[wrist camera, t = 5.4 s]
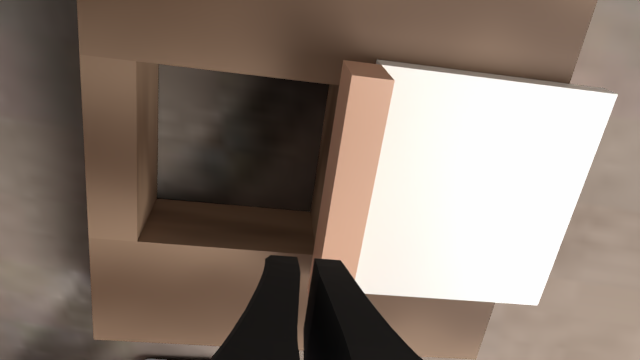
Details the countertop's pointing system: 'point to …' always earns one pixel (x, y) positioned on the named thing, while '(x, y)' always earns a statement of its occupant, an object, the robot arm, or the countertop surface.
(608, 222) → the countertop surface
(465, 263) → the panel
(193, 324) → the socket block
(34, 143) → the countertop surface
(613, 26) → the countertop surface
